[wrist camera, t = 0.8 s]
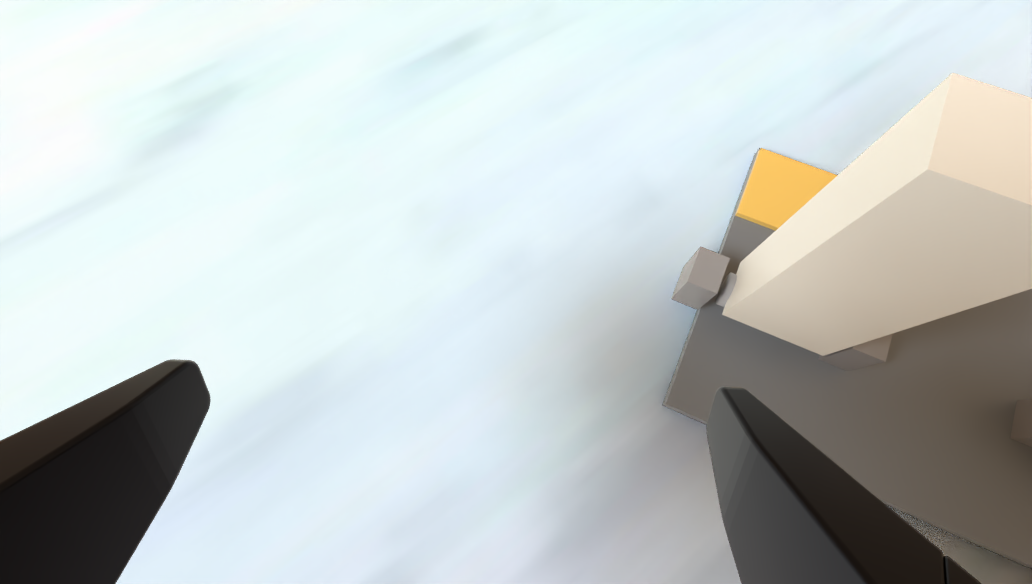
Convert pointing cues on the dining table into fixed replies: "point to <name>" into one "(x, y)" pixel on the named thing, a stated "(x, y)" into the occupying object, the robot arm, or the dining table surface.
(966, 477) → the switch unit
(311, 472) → the dining table surface
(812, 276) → the lever
